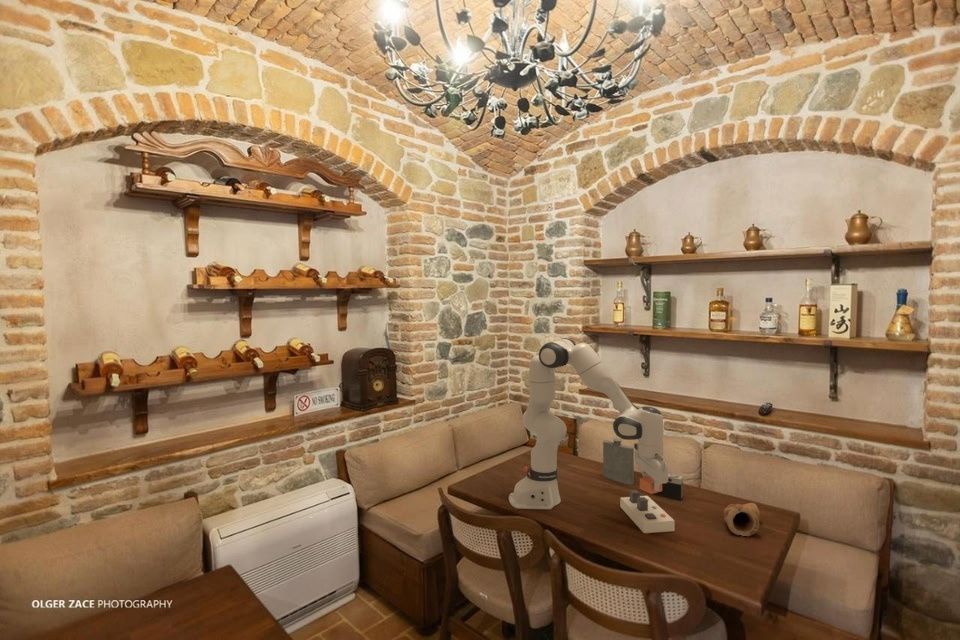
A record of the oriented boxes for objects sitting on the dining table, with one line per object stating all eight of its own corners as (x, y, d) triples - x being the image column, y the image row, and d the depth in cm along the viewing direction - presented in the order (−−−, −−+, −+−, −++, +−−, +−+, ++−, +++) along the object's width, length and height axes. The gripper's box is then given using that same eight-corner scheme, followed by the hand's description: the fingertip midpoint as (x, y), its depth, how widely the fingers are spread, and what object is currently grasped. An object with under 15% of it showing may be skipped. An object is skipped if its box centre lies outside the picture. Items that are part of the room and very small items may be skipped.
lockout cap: (651, 494, 176) (651, 483, 175) (639, 488, 181) (639, 478, 181) (662, 491, 178) (662, 480, 178) (650, 485, 183) (650, 475, 183)
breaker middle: (640, 511, 185) (640, 500, 185) (637, 508, 188) (637, 497, 188) (647, 511, 186) (647, 500, 185) (644, 508, 189) (644, 497, 188)
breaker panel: (644, 533, 176) (644, 521, 176) (620, 506, 198) (620, 496, 197) (674, 531, 177) (674, 519, 177) (647, 505, 199) (647, 494, 199)
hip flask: (634, 483, 221) (635, 442, 220) (630, 486, 218) (630, 444, 217) (605, 474, 233) (605, 434, 232) (600, 476, 230) (600, 436, 229)
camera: (685, 494, 209) (685, 472, 208) (680, 501, 202) (680, 478, 202) (653, 487, 217) (653, 465, 217) (647, 493, 211) (647, 471, 210)
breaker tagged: (648, 528, 179) (648, 517, 178) (645, 525, 182) (645, 513, 181) (656, 528, 179) (656, 516, 179) (652, 524, 182) (652, 513, 182)
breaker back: (632, 504, 192) (632, 493, 192) (629, 500, 195) (629, 490, 195) (639, 503, 193) (639, 492, 192) (636, 500, 196) (636, 489, 195)
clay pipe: (712, 533, 182) (740, 540, 168) (705, 504, 185) (733, 509, 171) (752, 525, 186) (783, 532, 172) (746, 497, 189) (776, 501, 175)
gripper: (673, 459, 169) (672, 496, 169) (646, 441, 189) (646, 474, 190) (656, 460, 168) (656, 497, 169) (631, 442, 188) (631, 475, 189)
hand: (650, 485), depth 179 cm, fingers closed on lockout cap, 7 cm apart
